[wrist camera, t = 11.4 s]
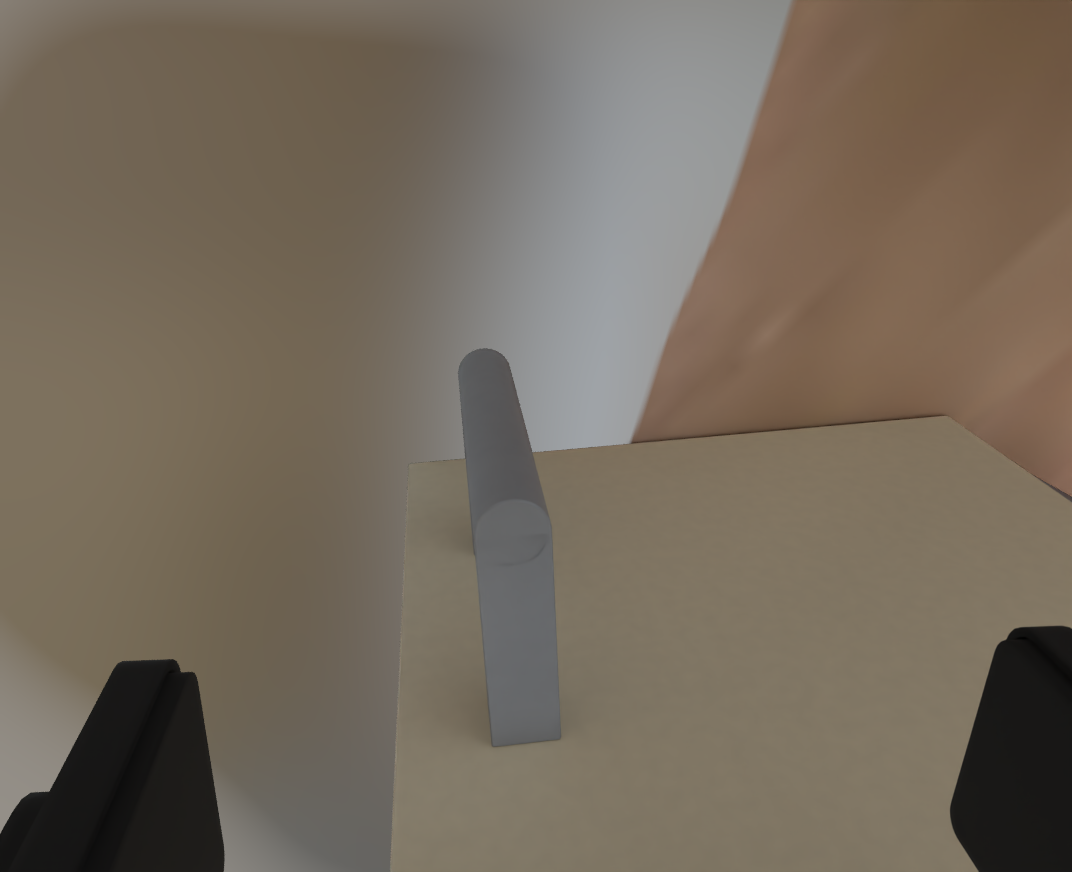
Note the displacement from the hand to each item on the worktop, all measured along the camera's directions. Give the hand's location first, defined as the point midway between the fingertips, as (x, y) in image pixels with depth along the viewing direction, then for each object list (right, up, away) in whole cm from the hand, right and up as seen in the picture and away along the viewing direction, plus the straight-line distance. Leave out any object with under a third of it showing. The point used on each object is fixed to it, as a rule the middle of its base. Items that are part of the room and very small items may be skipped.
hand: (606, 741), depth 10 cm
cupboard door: (+5, +6, +24) cm, 25 cm away
